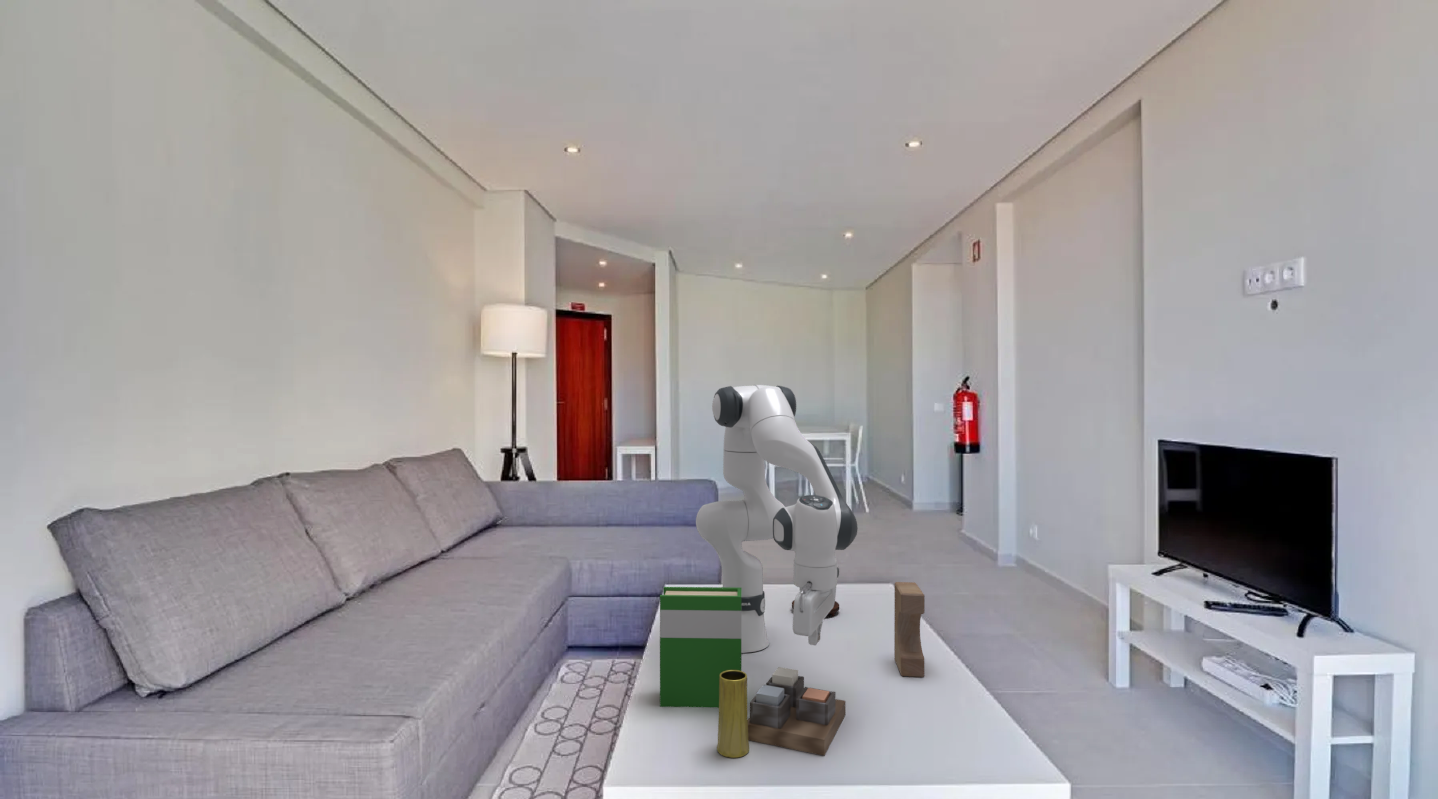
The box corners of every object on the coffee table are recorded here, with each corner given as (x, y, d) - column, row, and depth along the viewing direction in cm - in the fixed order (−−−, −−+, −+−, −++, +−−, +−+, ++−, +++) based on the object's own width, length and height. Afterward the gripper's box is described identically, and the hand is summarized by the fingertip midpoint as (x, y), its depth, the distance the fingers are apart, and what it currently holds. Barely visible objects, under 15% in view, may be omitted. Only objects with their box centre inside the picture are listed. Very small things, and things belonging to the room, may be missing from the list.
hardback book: (659, 706, 149) (659, 596, 149) (663, 692, 156) (663, 586, 156) (741, 708, 148) (741, 596, 148) (741, 693, 156) (741, 587, 156)
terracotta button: (802, 712, 137) (802, 696, 137) (808, 703, 141) (808, 687, 141) (824, 716, 135) (824, 700, 135) (829, 707, 140) (829, 691, 140)
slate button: (756, 709, 136) (756, 693, 136) (763, 700, 140) (763, 684, 140) (777, 713, 134) (777, 697, 134) (784, 704, 138) (784, 688, 138)
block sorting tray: (744, 739, 135) (744, 703, 135) (773, 701, 151) (773, 670, 151) (824, 755, 128) (824, 718, 128) (845, 714, 145) (845, 681, 145)
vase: (715, 742, 133) (715, 669, 133) (747, 741, 134) (747, 668, 134) (718, 759, 127) (718, 682, 127) (751, 757, 128) (751, 681, 128)
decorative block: (924, 678, 164) (924, 594, 164) (900, 676, 165) (900, 593, 165) (917, 660, 175) (917, 582, 175) (894, 659, 176) (894, 581, 176)
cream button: (772, 689, 145) (772, 674, 145) (778, 681, 149) (778, 667, 149) (792, 693, 143) (792, 677, 143) (798, 685, 147) (798, 670, 147)
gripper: (816, 592, 130) (816, 664, 131) (841, 565, 149) (840, 628, 150) (785, 588, 133) (784, 658, 133) (813, 562, 152) (812, 624, 152)
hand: (814, 642), depth 142 cm, fingers closed
